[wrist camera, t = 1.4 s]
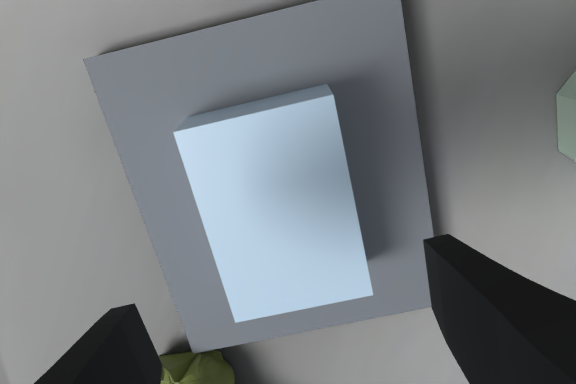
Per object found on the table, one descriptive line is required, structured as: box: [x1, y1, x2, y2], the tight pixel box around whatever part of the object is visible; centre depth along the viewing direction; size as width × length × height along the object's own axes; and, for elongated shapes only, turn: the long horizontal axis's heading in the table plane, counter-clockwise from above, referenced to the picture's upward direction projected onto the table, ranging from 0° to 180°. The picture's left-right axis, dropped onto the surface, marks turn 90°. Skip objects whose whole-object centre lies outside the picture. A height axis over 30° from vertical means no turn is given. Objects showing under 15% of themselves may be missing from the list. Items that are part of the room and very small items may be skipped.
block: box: [173, 84, 373, 323], centre depth 19 cm, size 8×6×3 cm
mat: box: [83, 0, 434, 354], centre depth 20 cm, size 14×12×1 cm
